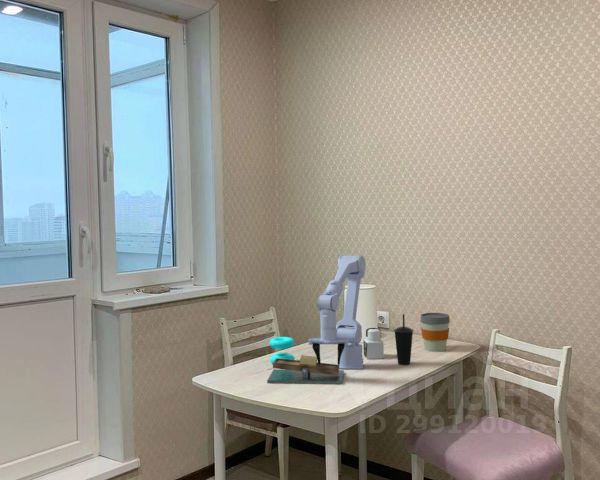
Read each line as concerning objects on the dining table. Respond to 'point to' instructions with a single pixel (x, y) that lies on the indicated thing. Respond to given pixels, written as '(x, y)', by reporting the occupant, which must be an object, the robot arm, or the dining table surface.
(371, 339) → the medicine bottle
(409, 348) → the drinking cup
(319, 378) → the stand
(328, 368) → the brown long flat tray
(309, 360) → the block
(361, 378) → the dining table surface
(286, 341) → the donuts
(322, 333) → the robot arm
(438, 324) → the reusable coffee cup
